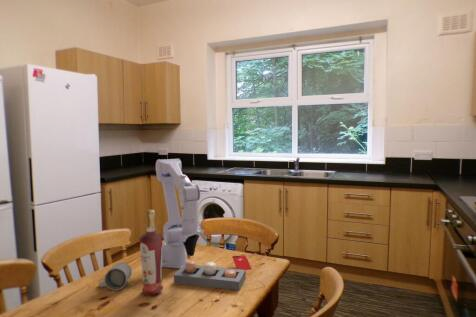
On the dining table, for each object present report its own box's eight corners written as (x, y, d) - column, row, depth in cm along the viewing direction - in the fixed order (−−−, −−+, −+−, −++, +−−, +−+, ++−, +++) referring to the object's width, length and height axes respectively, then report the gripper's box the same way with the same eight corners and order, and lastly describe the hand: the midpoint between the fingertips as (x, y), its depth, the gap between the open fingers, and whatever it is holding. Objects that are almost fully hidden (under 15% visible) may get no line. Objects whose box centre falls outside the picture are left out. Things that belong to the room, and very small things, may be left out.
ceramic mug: (133, 279, 121) (132, 259, 120) (127, 290, 112) (125, 268, 112) (103, 281, 120) (102, 260, 119) (95, 291, 112) (94, 269, 111)
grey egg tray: (173, 283, 117) (173, 274, 117) (185, 271, 127) (185, 264, 127) (239, 290, 111) (238, 281, 111) (245, 277, 121) (245, 269, 121)
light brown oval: (223, 282, 116) (223, 274, 116) (226, 277, 120) (226, 269, 119) (234, 283, 115) (234, 275, 115) (237, 278, 119) (236, 270, 118)
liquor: (168, 290, 112) (166, 209, 110) (152, 299, 105) (149, 214, 103) (153, 285, 116) (150, 207, 114) (136, 294, 109) (133, 211, 107)
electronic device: (251, 270, 129) (245, 256, 144) (251, 268, 129) (245, 255, 144) (237, 271, 128) (232, 257, 143) (237, 269, 128) (232, 256, 143)
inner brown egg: (183, 272, 119) (183, 264, 119) (188, 267, 123) (187, 260, 123) (193, 273, 118) (193, 265, 118) (198, 268, 122) (197, 261, 122)
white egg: (203, 274, 117) (202, 266, 117) (206, 269, 121) (206, 261, 121) (213, 275, 116) (213, 267, 116) (217, 270, 120) (217, 262, 120)
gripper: (192, 224, 111) (193, 263, 112) (207, 214, 125) (207, 249, 126) (173, 223, 113) (174, 261, 114) (189, 213, 127) (190, 247, 128)
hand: (190, 255), depth 120 cm, fingers closed
